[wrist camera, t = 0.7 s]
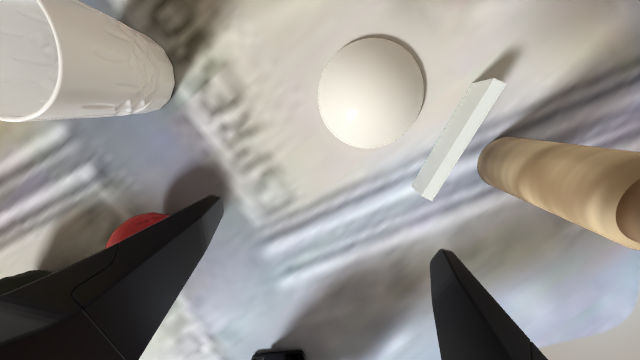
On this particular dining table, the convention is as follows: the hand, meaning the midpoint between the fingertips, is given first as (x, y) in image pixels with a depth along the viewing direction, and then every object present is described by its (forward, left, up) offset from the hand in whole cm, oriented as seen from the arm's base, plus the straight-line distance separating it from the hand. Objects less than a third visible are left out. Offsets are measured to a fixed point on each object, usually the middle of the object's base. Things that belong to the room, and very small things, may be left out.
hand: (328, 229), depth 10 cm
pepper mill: (-3, -15, -14) cm, 21 cm away
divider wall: (0, -10, -14) cm, 17 cm away
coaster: (+5, -4, -14) cm, 15 cm away
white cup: (+11, +16, -14) cm, 24 cm away
